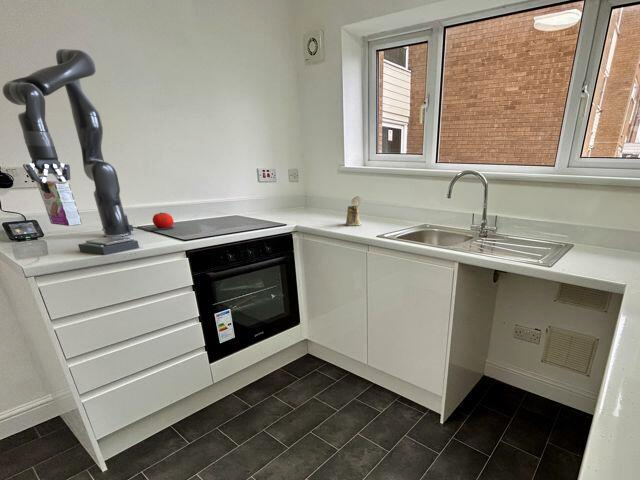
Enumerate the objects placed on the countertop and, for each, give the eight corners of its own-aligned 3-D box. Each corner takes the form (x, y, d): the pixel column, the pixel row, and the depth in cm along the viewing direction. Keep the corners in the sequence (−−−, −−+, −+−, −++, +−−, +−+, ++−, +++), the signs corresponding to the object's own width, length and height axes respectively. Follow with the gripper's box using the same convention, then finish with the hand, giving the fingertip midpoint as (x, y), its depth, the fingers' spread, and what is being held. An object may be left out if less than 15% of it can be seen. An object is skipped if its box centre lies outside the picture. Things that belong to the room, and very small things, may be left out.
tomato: (163, 226, 192) (159, 210, 189) (180, 227, 191) (177, 211, 188) (149, 229, 184) (145, 213, 180) (167, 230, 182) (163, 214, 179)
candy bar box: (50, 224, 140) (35, 181, 134) (64, 222, 145) (50, 180, 138) (68, 226, 137) (54, 182, 131) (82, 224, 141) (69, 181, 135)
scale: (116, 244, 150) (114, 237, 149) (139, 247, 147) (137, 239, 146) (80, 251, 138) (77, 243, 136) (104, 255, 134) (102, 246, 133)
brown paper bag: (350, 227, 209) (350, 196, 202) (343, 224, 220) (343, 194, 213) (364, 226, 212) (364, 196, 206) (357, 223, 224) (356, 194, 217)
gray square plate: (114, 237, 148) (113, 235, 148) (133, 240, 145) (133, 238, 145) (86, 242, 138) (85, 240, 138) (106, 245, 135) (105, 243, 135)
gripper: (23, 144, 122) (40, 194, 129) (69, 145, 135) (83, 191, 142) (8, 143, 124) (26, 193, 131) (55, 145, 137) (69, 190, 143)
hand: (55, 192), depth 136 cm, fingers closed on candy bar box, 5 cm apart
